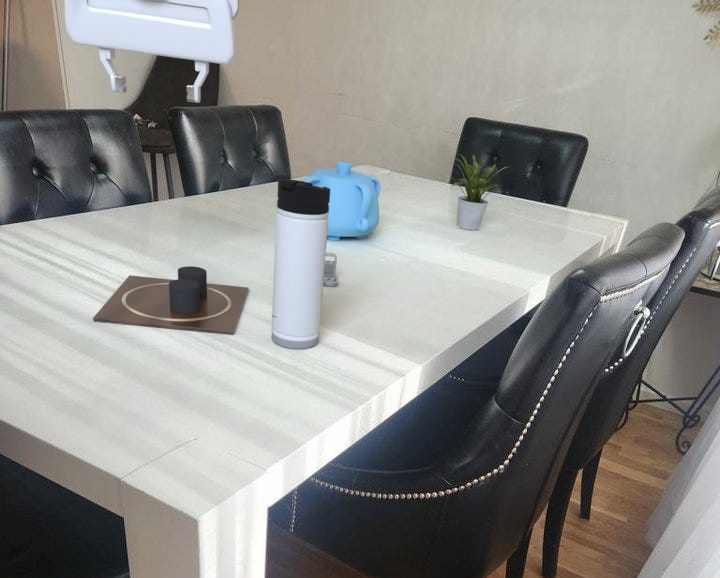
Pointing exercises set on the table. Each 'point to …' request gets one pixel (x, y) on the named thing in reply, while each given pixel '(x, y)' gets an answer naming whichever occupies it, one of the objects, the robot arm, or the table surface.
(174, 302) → the eye puck
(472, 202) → the house plant
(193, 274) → the eye puck
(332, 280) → the strap clip
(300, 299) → the travel mug
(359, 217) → the decorative pot
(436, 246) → the table surface
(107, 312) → the board
